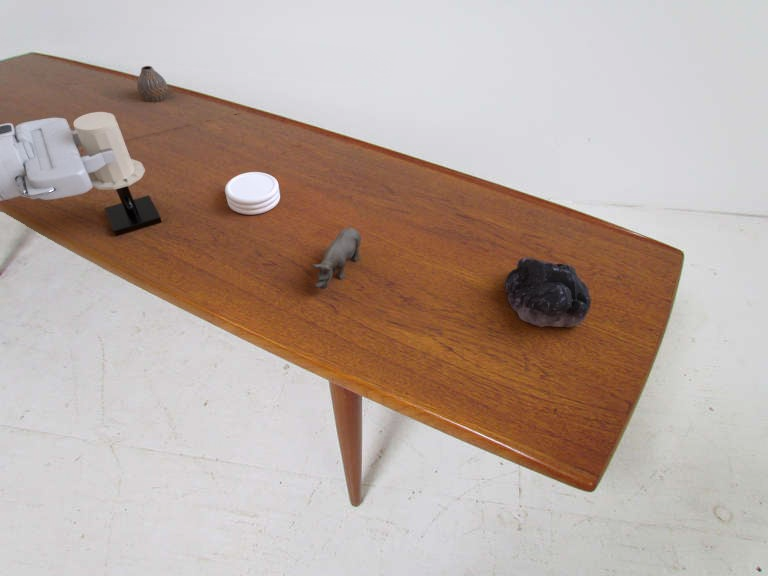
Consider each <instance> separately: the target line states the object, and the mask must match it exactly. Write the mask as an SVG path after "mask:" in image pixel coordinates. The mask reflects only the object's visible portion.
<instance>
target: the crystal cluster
mask: <svg viewBox="0 0 768 576" xmlns="http://www.w3.org/2000/svg"><path fill="white" fill-rule="evenodd" d="M503 288H504V290H505V292H506V293H507V300H508V303H509V305H510V307H511V308H512V310H513V311H514V312H516V313H517V315H518V317H519V319H520V320H522V321H523V322H526V323H529V324H531V325H534V326H536V327H540V328H543V327H556V328H563V327H564V328H573V327H576V326H578V325H581V324H582V323H584V321H585V319H586V317H587V315H588V313H589V311H590V308H591V304H592V298H591V294H590V289H589V288H588V286H587V285H586V283H585V282H584V281H582V280H581V278H580V277H579V276H578V274H577V271H576V269H575V267H573V266H572V265H567V264H564V263H552V262H548V261H542V260H538V259H536V258H532V257H522V258H521V259H519V260H518V261H517V266H516V267H515V268H514V269H512V270H511V271H509V273H508V274H507V276H506V277H505V281H504V284H503Z"/></svg>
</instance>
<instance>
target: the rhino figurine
mask: <svg viewBox="0 0 768 576" xmlns="http://www.w3.org/2000/svg"><path fill="white" fill-rule="evenodd" d="M361 238H362V236H361V234H360V232H359V231H358V230H357V229H355V228H354V227H347V228H343V229H342V230H340V231H339V233H338V234H337V236H336V238H334V239H333V241H332V242H331V243H330V245H329V246H328V247H327V248H326V250H325V251H324V252H323V255H322V260H321V262H320V263H319V264H315V263H314V264H312V267H313V268H314V269H316V270H318V269H319V270H318V274H317V279H318V281H317V284H315V285H314V286H315V288H317V289H319V288H320V289H321V290H325V289H327V288H328V285H329V284H330V281H332V278H333V276H334V272H335V271H336V270H337V273H336V278H338V279H340V280H343V279H345V278H346V273H345V271H344V269H345V267H346V265H347V261H349V260H350V259H351V260H353V261H354V262H357V261H360V260H361V256H360V254H359V253H360V252H359V251H360V245H361V244H362V243H361V241H362V239H361Z"/></svg>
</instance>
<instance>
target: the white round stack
mask: <svg viewBox="0 0 768 576" xmlns="http://www.w3.org/2000/svg"><path fill="white" fill-rule="evenodd" d="M279 185H280V184H279V182H278V180H277V178H275V177H274V176H272V175H271V174H268V173H265V172H261V171H249V172H245V173H244V172H243V173H240V174H238V175H235V176H234V177H232V178H231V179H229V181H228V182H227V183H226V185H225V187H224V193H225V196H226V197H225V198H226V201H227V205H228V206H229V208H230V209H231V210H232V211H233V212H236V213H238V214H242V215H247V216H253V215H261V214H265V213H267V212H269V211H270V210H272V209H274V208H275V207H276V206H277V205H278V204H279V203H280V200H281V193H280V186H279Z"/></svg>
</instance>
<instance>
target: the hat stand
mask: <svg viewBox="0 0 768 576" xmlns="http://www.w3.org/2000/svg"><path fill="white" fill-rule="evenodd" d="M115 191H116V193H117V195H118V197H119V200H120V203H116V204H113V205H109V206H106V207H104V211H105V213H106V217H107V218H108V221H109V223H110V226H111V229H112V231H113V233H114V235H115V237H119V236H121V235H124V234H125V235H126V234H128V233H131V232H134V231H135V232H136V231H138V230H141V229H144V228H147V227H151V226H155V225H158V224H161V223H163V221H162V218H161V215H160V214H159V211H158V210H157V208H156V206H155V204H154V202H153V200H152V198H151V197H150V196H151V195H145V196H142V197H138V198H135V199H134V198H133V195H132V192H131V190H130V187H129V186H126V187H122V188H119V189H115Z"/></svg>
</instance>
